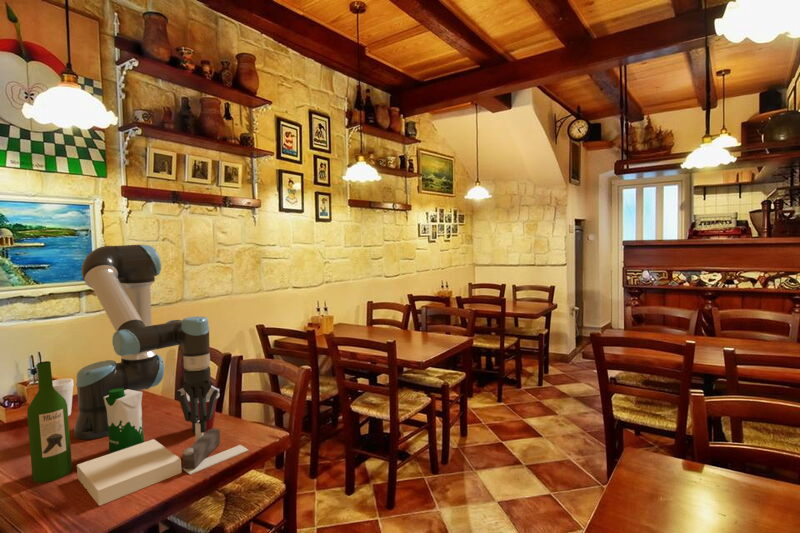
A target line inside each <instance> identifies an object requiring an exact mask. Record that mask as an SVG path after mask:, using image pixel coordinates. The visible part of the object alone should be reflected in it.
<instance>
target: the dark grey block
mask: <svg viewBox="0 0 800 533" xmlns="http://www.w3.org/2000/svg"><path fill="white" fill-rule="evenodd" d="M220 433H221V432H220V428H211V429H209V430H207V431H205V432H204V435H203V436H202V437H201V438H200V439H198V440H197V441H196V440H195V442H194V443H193V444H192V445H190V447H187V448H185V449H184V450H183V451H182V452H183V453H182V456H183V467H184V469H195V468H196V467H197V466H198V465H199V464H200V463H201V462H202V461H203V460H204V459H206V458H208V457H209V455H210V454H211V453H212V452H213V451H214V450H215V448H217V446H219V445H220V444H221V434H220Z"/></svg>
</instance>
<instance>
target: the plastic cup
mask: <svg viewBox="0 0 800 533" xmlns="http://www.w3.org/2000/svg"><path fill="white" fill-rule="evenodd" d="M210 392H211V391H210V390H209V392H208V393H207V395H206V414H207V409H208V405H209V400H210V397H211V394H210ZM186 396H187V399H188V403H189V406H190V409H191V402H190V396H189V395H188V394H186ZM219 398H220V392H219V393H218V394H217V397H216V402H215V406H214V411H213V415H212V417H211V418H210V420H208V421H206V430H207V431H208V430H209V429H213V428H214V424H215V416H216V408H217V403H218V399H219ZM198 417H199V401H198ZM198 420H200V418H199V419H198Z"/></svg>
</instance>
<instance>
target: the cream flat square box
mask: <svg viewBox="0 0 800 533" xmlns="http://www.w3.org/2000/svg"><path fill="white" fill-rule="evenodd" d="M76 470H77V471H76V472H77V473H76V474H77V479H78V481H79V482H80V484H81V485H82V484H83V485H82V486H83V487H84V489H85V490H86V489H87V490H86V491H87V492H88V494H89V495H90V496H91V497H92V499H93V501H95V503H96V504H97V505H98V506H99V507H100V506H102V505H105V504H108V503H110V502H113V501H114V500H118V499H119V498H122V497H125V496H128V495H130V494H133V493H135V492H139V491H140V490H143V489H145V488H148V487H150V486H152V485H155V484H157V483H159V482H162V481H165V480H166V479H169V478H172V477H174V476H177V475H180V474H182V473H183V472H182V470H183V469H182V460H181V458H180V457H179V456H178V455H176V454H175V453H173V452H172V451H171V450H170V449H168V448H167V447H165V446H164V445H163V444H161V443H160V442H159V441H157V440H156V439H154V438H152V439H150V440H148V441H147V440H146V441H144V443H141V444H138V445H135V446H132V447H129V448H126V449H123V450H120V451H117V452H114V453H109V454H105V455H102V456H99V457H96V458H93V459H89V460H87V461H84V462H80V463H78V464H76Z"/></svg>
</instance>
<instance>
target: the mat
mask: <svg viewBox="0 0 800 533" xmlns="http://www.w3.org/2000/svg"><path fill="white" fill-rule="evenodd" d="M249 450H250V449H248V448H247V447H245V446H243V445H242V444H238V445H236V446H233V447H231V448H228V449H227V450H224V451H221V452H219V453H216V454H214V455H211V456H207V457H206V458H205V459H204V460H203V461H202V462H201V463H200V464H199V465H198V466H197V467H196V468H195V469H184V466H183V467H181V470H183V471H184V472H186V473H187V474H188V475H189V476H190V475H193V474H195V473H198V472H200V471H203V470H205V469H208V468H209V467H212V466H215V465H217V464H220V463H222V462H225V461H226V460H229V459H232V458H235V457H236V456H239V455H241V454H243V453H244V454H245V453H246V452H249Z"/></svg>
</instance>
